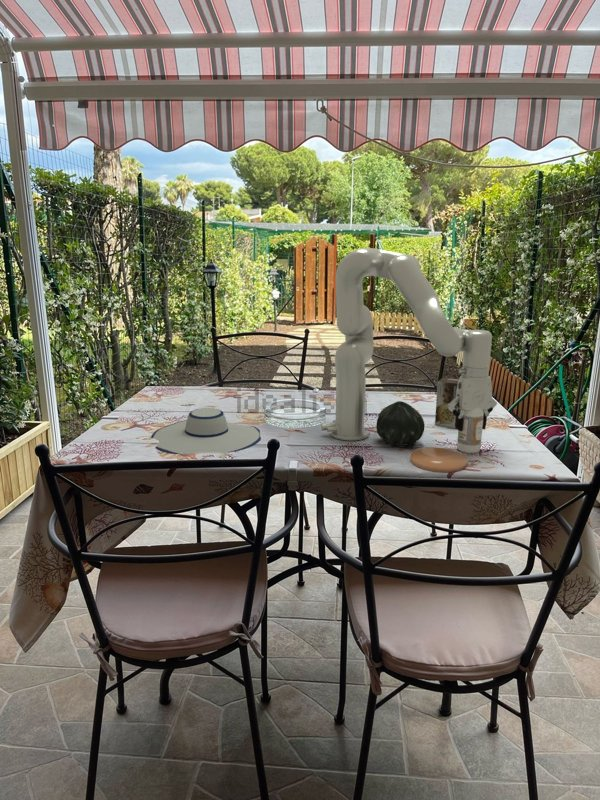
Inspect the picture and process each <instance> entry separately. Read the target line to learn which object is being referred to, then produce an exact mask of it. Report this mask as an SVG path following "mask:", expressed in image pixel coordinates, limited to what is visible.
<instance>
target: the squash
mask: <svg viewBox="0 0 600 800" xmlns="http://www.w3.org/2000/svg"><path fill="white" fill-rule="evenodd" d="M377 416H378V417H377V419H376V427H375V428H376V433H377V434H378V436H379V437H380V438H381V439H382V440H383V441H385V442H387V444H389V446H392V447H394V446H398V447H400V448H402V447H405V446H409V447H410V446H414V445H415V444H416V443H417V442H418V441H420V440H421V439H422V436H423V435H424V432H425V426H426V425H425V424H426V423H425V421H424V418H423V417H422V415H421V413H420V412H419V411H418V410H416V408H415V407H413V406H412V405H411V404H409V403H407V402H405V401H401V400H398V401H395V402H393V403H391V404H389V405H388V406H386V407H384V408H383V409H381V411H380V412H379V414H378V415H377Z"/></svg>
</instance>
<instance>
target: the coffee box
mask: <svg viewBox="0 0 600 800" xmlns="http://www.w3.org/2000/svg"><path fill="white" fill-rule="evenodd" d="M458 381H459V378H458V379H457V378H448V377H442V378H440V379H439V380H437V383H436V403H435V419H434V425H435V426H437V427H445V428H451V429H456V428H455V418H456V417H455V416H454V414H453V413H452V412H451V410H450V409H449V408H448V407H447V405H448V404H449V403H450V402H451V401H452V400H454V399H455V397H456V390H457V385H458ZM454 408H455V409H456V410H457V408H458V407H456V406H455V407H454Z"/></svg>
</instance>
